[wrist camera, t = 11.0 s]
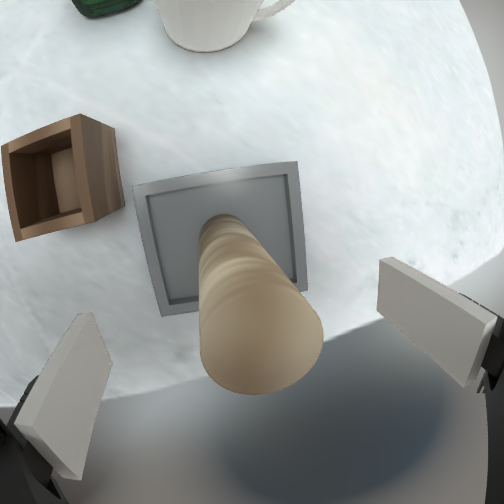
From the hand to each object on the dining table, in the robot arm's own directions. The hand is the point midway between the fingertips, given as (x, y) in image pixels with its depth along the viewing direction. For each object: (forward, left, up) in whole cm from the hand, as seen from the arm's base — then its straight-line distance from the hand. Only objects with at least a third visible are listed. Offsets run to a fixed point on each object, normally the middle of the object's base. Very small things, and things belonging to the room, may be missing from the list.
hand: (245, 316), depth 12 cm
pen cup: (-12, +8, -15) cm, 21 cm away
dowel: (0, 0, -14) cm, 15 cm away
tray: (0, 0, -15) cm, 15 cm away
